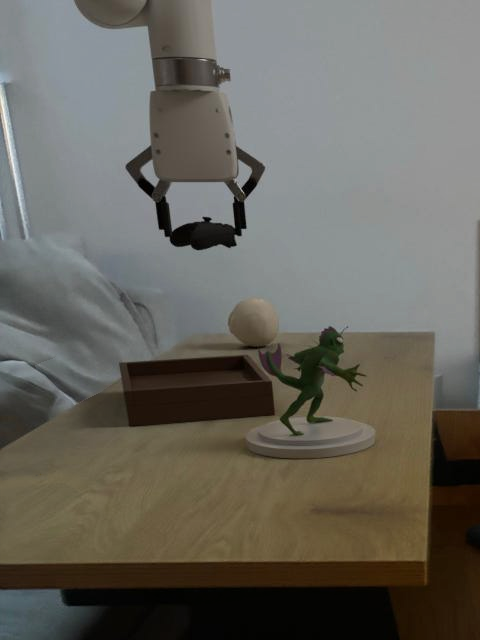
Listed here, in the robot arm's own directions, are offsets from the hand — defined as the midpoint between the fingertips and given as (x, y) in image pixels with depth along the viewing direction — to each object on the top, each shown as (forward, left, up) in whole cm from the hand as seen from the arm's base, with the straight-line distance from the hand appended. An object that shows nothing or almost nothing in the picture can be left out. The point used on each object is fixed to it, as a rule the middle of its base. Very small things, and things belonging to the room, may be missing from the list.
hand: (204, 235), depth 126 cm
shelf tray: (+6, -26, -16) cm, 31 cm away
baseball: (+1, +13, -16) cm, 21 cm away
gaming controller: (0, 0, -2) cm, 2 cm away
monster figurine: (+23, -42, -16) cm, 51 cm away
